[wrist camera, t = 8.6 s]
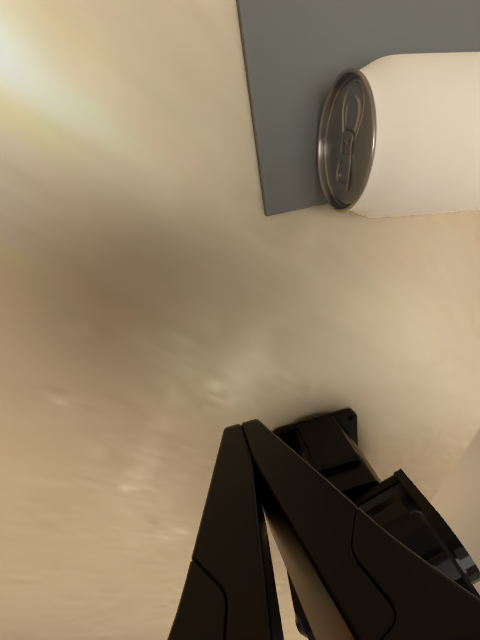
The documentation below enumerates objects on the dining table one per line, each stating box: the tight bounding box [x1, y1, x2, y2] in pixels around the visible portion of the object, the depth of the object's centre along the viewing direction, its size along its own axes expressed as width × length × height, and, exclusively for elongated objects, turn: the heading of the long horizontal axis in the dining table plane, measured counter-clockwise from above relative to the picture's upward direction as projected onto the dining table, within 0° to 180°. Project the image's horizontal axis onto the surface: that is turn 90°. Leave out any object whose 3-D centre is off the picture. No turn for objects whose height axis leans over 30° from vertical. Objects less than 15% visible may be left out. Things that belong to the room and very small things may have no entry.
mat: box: [236, 0, 480, 216], centre depth 18 cm, size 11×14×1 cm
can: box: [317, 52, 480, 218], centre depth 17 cm, size 6×6×12 cm
